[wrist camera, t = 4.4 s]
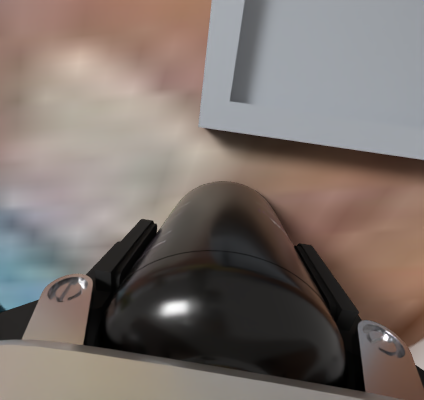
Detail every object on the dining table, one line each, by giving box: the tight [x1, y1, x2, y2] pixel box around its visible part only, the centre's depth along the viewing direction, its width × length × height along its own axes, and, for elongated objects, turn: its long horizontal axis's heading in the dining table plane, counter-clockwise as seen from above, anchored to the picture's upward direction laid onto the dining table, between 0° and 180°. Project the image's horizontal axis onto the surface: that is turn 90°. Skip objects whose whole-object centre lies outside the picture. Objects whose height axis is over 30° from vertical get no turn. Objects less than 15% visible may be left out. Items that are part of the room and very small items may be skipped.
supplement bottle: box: [93, 181, 349, 389], centre depth 8 cm, size 7×7×12 cm
